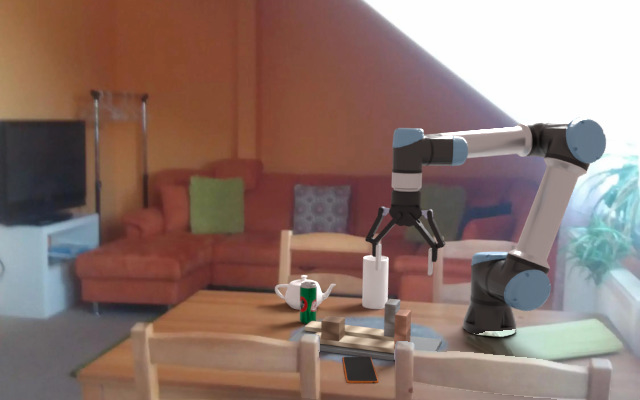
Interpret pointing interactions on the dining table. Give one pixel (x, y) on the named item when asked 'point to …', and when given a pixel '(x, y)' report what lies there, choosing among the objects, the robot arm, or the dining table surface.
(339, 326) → the block
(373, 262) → the cup
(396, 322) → the strip
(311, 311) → the soda can
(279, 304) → the dining table surface
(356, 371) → the smartphone
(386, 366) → the dining table surface
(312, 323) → the strip
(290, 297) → the teapot
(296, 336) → the board
